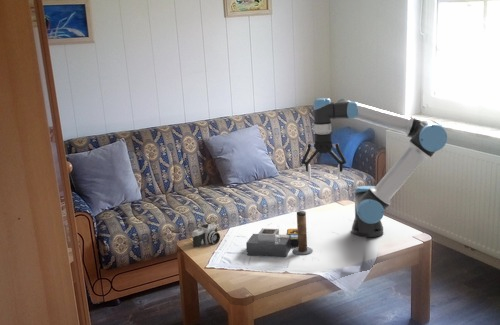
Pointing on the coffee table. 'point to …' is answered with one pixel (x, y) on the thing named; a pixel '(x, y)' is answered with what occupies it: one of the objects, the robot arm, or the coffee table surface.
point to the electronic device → (293, 236)
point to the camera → (205, 235)
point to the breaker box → (269, 244)
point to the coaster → (302, 252)
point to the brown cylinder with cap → (301, 231)
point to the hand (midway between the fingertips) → (324, 178)
